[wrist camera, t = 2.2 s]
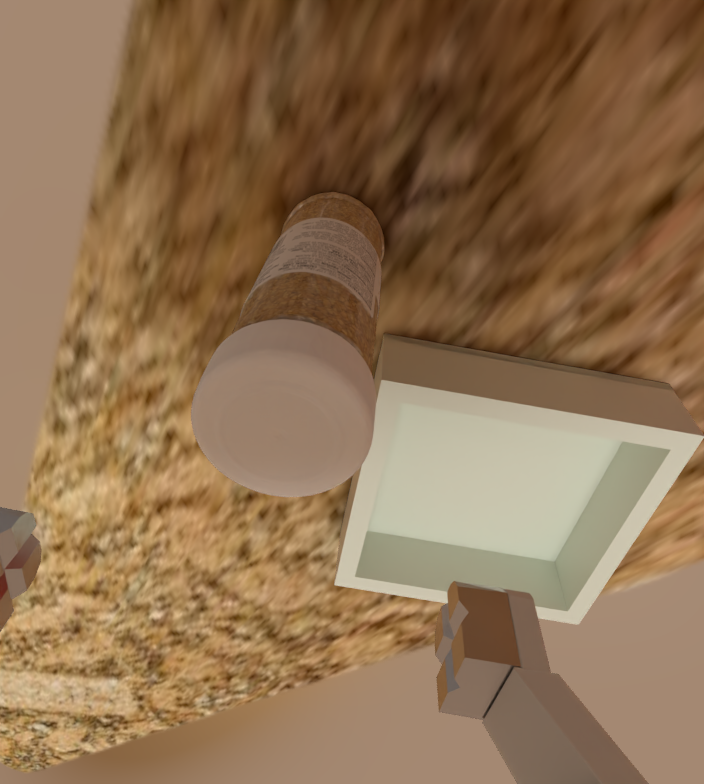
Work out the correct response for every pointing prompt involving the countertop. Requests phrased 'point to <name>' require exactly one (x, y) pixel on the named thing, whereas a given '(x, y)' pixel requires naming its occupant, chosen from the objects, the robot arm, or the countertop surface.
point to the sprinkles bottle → (299, 358)
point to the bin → (506, 475)
